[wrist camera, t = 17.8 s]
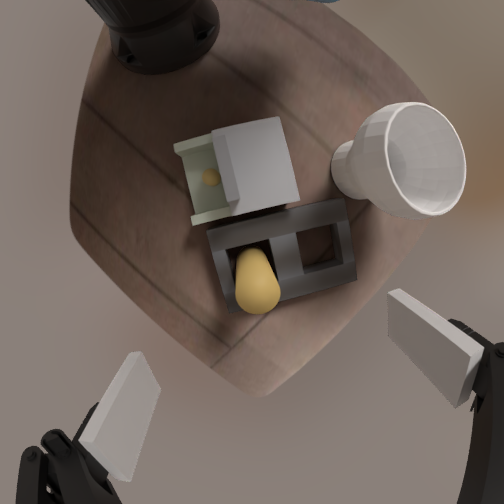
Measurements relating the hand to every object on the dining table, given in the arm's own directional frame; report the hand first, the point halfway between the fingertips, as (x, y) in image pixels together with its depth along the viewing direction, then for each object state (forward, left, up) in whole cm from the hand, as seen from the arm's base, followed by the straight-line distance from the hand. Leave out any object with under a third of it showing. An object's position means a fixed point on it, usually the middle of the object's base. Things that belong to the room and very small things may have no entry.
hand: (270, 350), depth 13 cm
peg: (0, 0, -21) cm, 21 cm away
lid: (-10, +3, -16) cm, 19 cm away
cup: (-8, +16, -21) cm, 28 cm away
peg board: (0, +4, -21) cm, 21 cm away
